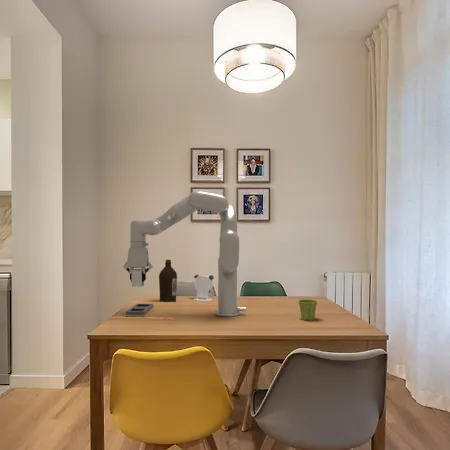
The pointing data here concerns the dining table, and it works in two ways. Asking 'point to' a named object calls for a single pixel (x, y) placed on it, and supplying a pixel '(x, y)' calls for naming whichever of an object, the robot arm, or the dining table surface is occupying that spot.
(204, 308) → the dining table surface
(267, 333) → the dining table surface
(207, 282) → the panda figurine
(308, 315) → the plant pot
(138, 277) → the block
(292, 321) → the dining table surface
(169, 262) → the olive oil
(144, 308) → the rail
